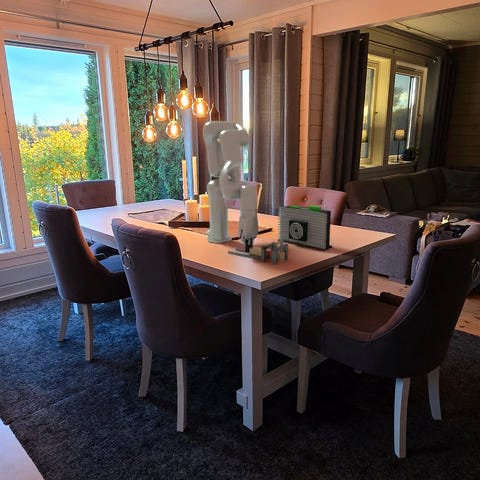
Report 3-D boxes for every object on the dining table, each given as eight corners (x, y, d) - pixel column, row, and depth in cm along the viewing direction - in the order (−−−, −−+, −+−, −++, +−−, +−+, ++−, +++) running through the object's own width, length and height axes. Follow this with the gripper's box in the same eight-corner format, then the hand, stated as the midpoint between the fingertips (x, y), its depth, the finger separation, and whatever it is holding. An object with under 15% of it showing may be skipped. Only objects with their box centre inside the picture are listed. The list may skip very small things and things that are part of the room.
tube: (249, 256, 183) (249, 247, 182) (254, 254, 186) (254, 245, 185) (279, 263, 174) (279, 253, 172) (284, 260, 177) (284, 251, 176)
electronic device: (274, 242, 208) (274, 203, 203) (287, 238, 215) (288, 201, 210) (320, 252, 188) (321, 210, 183) (333, 247, 196) (334, 207, 191)
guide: (227, 253, 189) (227, 251, 188) (236, 250, 194) (236, 248, 193) (261, 260, 177) (261, 258, 177) (269, 256, 182) (269, 254, 182)
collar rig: (261, 261, 175) (261, 244, 173) (275, 255, 184) (275, 238, 182) (275, 264, 171) (275, 246, 169) (289, 258, 179) (289, 241, 178)
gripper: (251, 209, 188) (251, 247, 193) (231, 214, 177) (232, 254, 181) (265, 211, 184) (264, 249, 188) (245, 216, 172) (245, 257, 177)
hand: (248, 252), depth 185 cm, fingers closed
